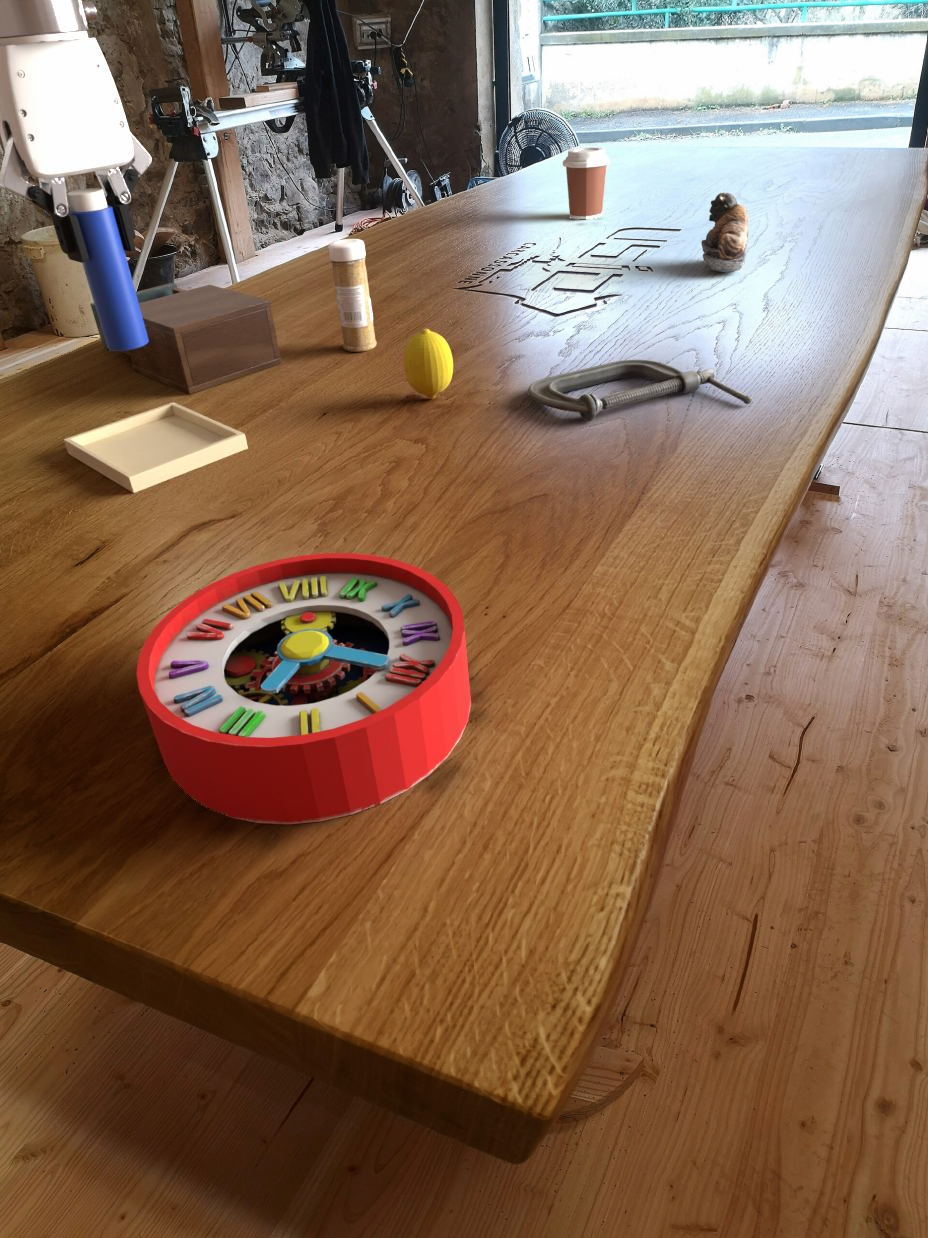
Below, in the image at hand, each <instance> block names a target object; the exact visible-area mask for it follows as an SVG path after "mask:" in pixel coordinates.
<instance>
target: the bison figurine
mask: <svg viewBox="0 0 928 1238" xmlns="http://www.w3.org/2000/svg"><path fill="white" fill-rule="evenodd" d="M710 205H711V206H710V208H709V210H708V211H709V213H710V214H709V217H708V221H709V222H714V226H713V227H712V228H711V229H709V231H708V232H707V234H706V236H705V239H702V240H701V247H702V260H703V262H704V263H705V264H706V265H707V266H708V267H709V269H710V270H712V271H715V272H719V273H732V272H737V271H739V270H741V269H742V268H743V267H744V265H745V262H746V256H747V254H746V250H747V246H748V238H749V215H748V212H747V210H746V209H745V206H744V205H742V204H738V201H737V199H736V197H735V196H734V195H733V194H732V193H730V192H722V191H720V193H718V194H717V195H716V197H715V198H714V199H712V200H711V201H710Z"/></svg>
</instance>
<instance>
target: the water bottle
mask: <svg viewBox="0 0 928 1238" xmlns="http://www.w3.org/2000/svg"><path fill="white" fill-rule="evenodd" d="M66 194H67V202H68V206H69V210H70V213H71V214H72V215H75V216H76V217H77V219H78V222H79V226H80V229H81V233H82V236H83V239H84V243H85V246H86V250H87V253H88V256H89V260H88V261H87V262H82V263H81V264H82V267H83V268H82V269H83V272H84V275H85V278H86V281H87V283H88V288H89V291H90V294H91V297H92V301H93V303H94V304H95V308H96V311H97V314H98V318H99V321H100V325H101V328H102V331H103V335H104V338H105V341H106V345H107V348H108V349H109V350H111V351H113V352H121V351H125V350H132V349H136V348H139V347H142V346H144V345H146V344H147V343H148V342H149V340H148V336H147V332H146V329H145V325H144V321H143V318H142V314H141V310H140V307H139V303H138V299H137V296H136V292H137V291H136V288H135V285H134V281H133V277H132V274H131V270H130V267H129V262H128V259H127V255H126V251H125V250H124V248H123V244H122V240H121V237H120V233H119V229H118V226H117V222H116V218H115V214H114V211H113V207H112V206H110V205H107V200H106V195H105V193H104V191H103V189H102V187H101V188H100V187H90V188H82V189H75V190H71V191H69V192H66Z"/></svg>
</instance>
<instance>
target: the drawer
mask: <svg viewBox="0 0 928 1238" xmlns="http://www.w3.org/2000/svg"><path fill="white" fill-rule="evenodd" d="M183 291H187V290H186V289H182V288H178V286H177V283H174V282H169V283H165V284H162V285H157V286H153V287H150V288H146V289H142V290H139V291H135V292H136V296H137V299H138V303H142V302H146V301H150V300H153V299H157V298H161V297H165V296H168V295H172V294H176V293H180V292H183ZM90 308H91V311H92V314H93V318H94V321H95V325H96V328H97V331H98V334H99V338H100V341H101V344H102V348H103V351H106V352H110V351H112V350H109V349H108V348H107V345H106V341H105V338H104V335H103V331H102V328H101V325H100V321H99V318H98V314H97V311H96V308H95V304H94V302H92V303H90ZM120 352H122V353H123V354H126V355H129V356H130V354H129V350H125V351H120Z"/></svg>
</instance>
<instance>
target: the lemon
mask: <svg viewBox="0 0 928 1238" xmlns="http://www.w3.org/2000/svg"><path fill="white" fill-rule="evenodd" d="M404 349H405V350H404V355H403V369H404V370H403V371H404V374H405V378H406V380H407V382H408V384H409V386H410V387H411V388H412V389H413V390H414V391H415V392H416V393H418V394H421V395H424V396H425V397H427V398H428V399H429V400H434V399H436V397H437V396H438V394H440V393H442V392H443V391H445V390H446V388H447V387H448V386H449V385H450V383H451V381H452V379H453V373H454V358H453V354H452V350H451V347H450V346H449V343H448V342H447V340H446V339H445V338H444V337H443V336H442V335H440V334H439V333H437V332H435V331H431V330H430V329H429V328H422V329H421V331H419V332H417V333H416V334H415V335H413V336H412V337H411V338H410V339H409V341H408V342H407V344H406V346H405V348H404Z"/></svg>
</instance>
